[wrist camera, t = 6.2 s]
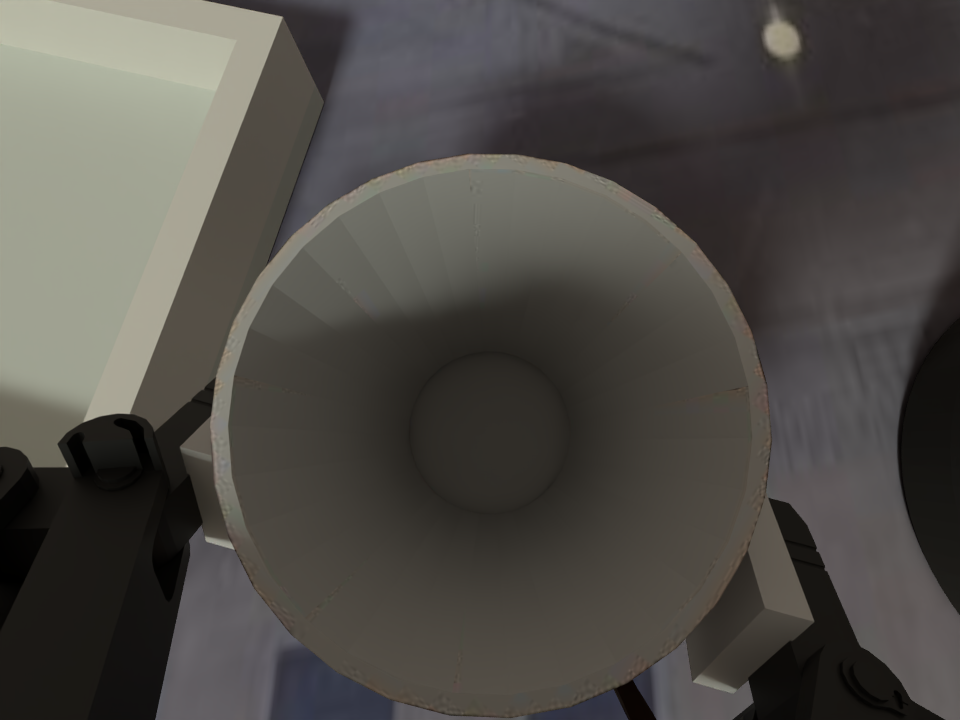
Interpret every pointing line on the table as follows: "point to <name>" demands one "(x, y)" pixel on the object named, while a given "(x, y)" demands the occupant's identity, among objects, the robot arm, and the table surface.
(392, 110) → the table surface
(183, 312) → the white storage tray
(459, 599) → the coffee mug
